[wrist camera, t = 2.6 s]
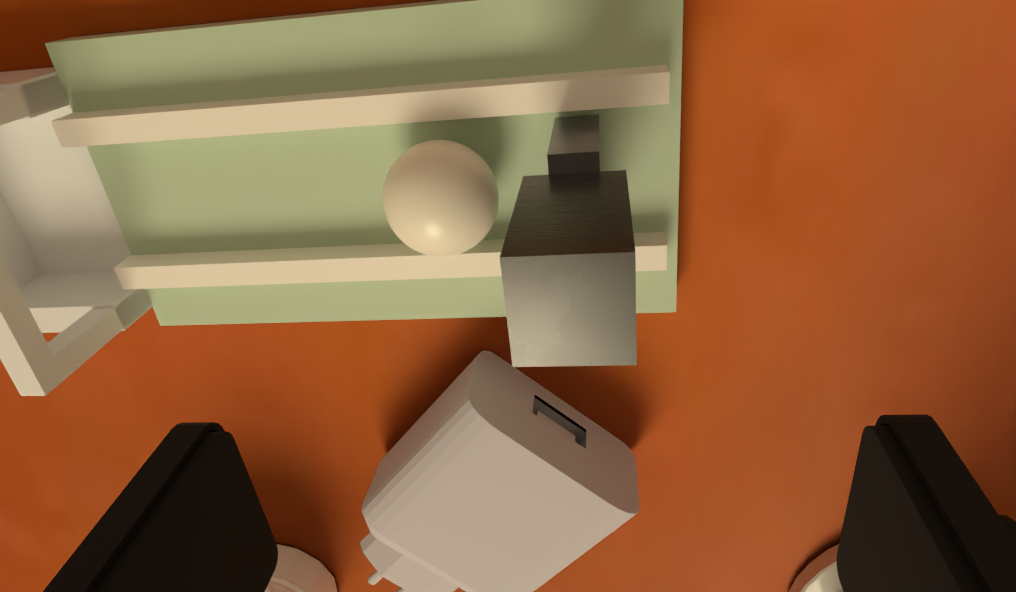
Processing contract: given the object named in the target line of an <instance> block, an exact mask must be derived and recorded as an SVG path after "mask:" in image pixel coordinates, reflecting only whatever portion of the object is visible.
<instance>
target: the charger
mask: <svg viewBox="0 0 1016 592" xmlns="http://www.w3.org/2000/svg"><path fill="white" fill-rule="evenodd" d="M535 395H537V396H538V397H539V398H541V399H542V400H544V401H545V402H547V403H548V404H550V405H551V406H553V407H554V408H555V409H557V410H558V411H560V412H561V413H563V414H564V415H566V416H567V417H569V418H570V419H572V420H573V421H574V422H576V423H577V424H579V425H580V426H582V427H583V428H585V429H586V432H584V431H583V430H581V429H580V428H578V427H577V426H576V425H574V424H573V423H571V422H570V421H568V420H567V419H565V418H564V417H562V416H561V415H559V414H558V413H556V412H555V411H554V410H552V409H551V408H549V407H548V406H546V405H545V404H543V403H542V402H540V401H539V400H537V399H536V398H535V397H534V396H535ZM638 511H639V496H638V482H637V467H636V459H635V456H634V454H633V453H632V451H631V450H630V448H629V447H628V446H627V445H626V444H625V443H623V442H622V441H621V440H619V439H618V438H616V437H615V436H613V435H612V434H611V433H609V432H608V431H606V430H605V429H603V428H602V427H600V426H599V425H598V424H596V423H595V422H593V421H592V420H590V419H589V418H587V417H586V416H584V415H583V414H582V413H580V412H579V411H577V410H576V409H574V408H573V407H571V406H570V405H569V404H567V403H566V402H564V401H563V400H561V399H560V398H558V397H557V396H555V395H554V394H553V393H551V392H550V391H548V390H547V389H545V388H544V387H542V386H541V385H539V384H538V383H537V382H535V381H534V380H532V379H531V378H529V377H528V376H526V375H525V374H523V373H522V372H521V371H519V370H518V369H516V368H515V367H512V365H510V364H509V363H507V362H506V361H504V360H503V359H501V358H500V357H499V356H497V355H496V354H494V353H493V352H490V351H481V352H480V353H479V354H478V355H477V356H476V358H475V359H474V360H473V361H472V362H471V363H470V364H469V365H468V366H467V367H466V368H465V369H464V371H463V372H462V373H461V374H460V375H459V376H458V377H457V378H456V379H455V380H454V381H453V382H452V384H451V385H450V386H449V387H448V388H447V389H446V390H445V391H444V392H443V393H442V394H441V395H440V397H439V398H438V399H437V400H436V401H435V402H434V403H433V404H432V405H431V406H430V407H429V408H428V410H427V411H426V412H425V413H424V414H423V415H422V416H421V417H420V418H419V419H418V420H417V421H416V423H415V424H414V425H413V426H412V427H411V428H410V429H409V430H408V431H407V432H406V433H405V434H404V436H403V437H402V438H401V439H400V440H399V441H398V442H397V443H396V444H395V445H394V446H393V447H392V449H391V450H390V451H389V452H388V453H387V454H386V455H385V456H384V457H383V458H382V459H381V460H380V463H379V465H378V467H377V470H376V472H375V475H374V477H373V480H372V482H371V485H370V487H369V490H368V492H367V495H366V497H365V500H364V502H363V504H362V513H363V516H364V518H365V521H366V523H367V525H368V528H369V530H370V533H369V534H368V535H367V536H366V537H365V538H364V539H363V540H362V541H361V542H360V545H361V548H362V551H363V553H364V554H365V556H366V557H367V558H368V560H369V561H370V562H371V563H372V565H373V566H374V567H375V569H376V571H375V572H374V573H373V574H372V575H371V576H370V577H369V578H368V582H369V583H370V584H372V585H375V584H376V583H377V582H378V581H379V580H380V579H382V578H383V577H384V578H386V579H388V580H389V581H391V582H393V583H394V584H396V585H398V586H400V587H401V588H400V589H398V590H397V591H396V592H453V591H455V590H456V589H457V588H458V587H459V588H461V589H462V590H464V591H466V592H533V591H535V590H536V589H537V588H539V587H540V586H541V585H543V584H544V583H545V582H547V581H548V580H549V579H551V578H552V577H553V576H555V575H556V574H557V573H559V572H560V571H561V570H563V569H564V568H565V567H566V566H568V565H569V564H570V563H572V562H573V561H574V560H576V559H577V558H578V557H580V556H581V555H582V554H584V553H585V552H586V551H588V550H589V549H590V548H592V547H593V546H594V545H596V544H597V543H598V542H600V541H601V540H602V539H604V538H605V537H606V536H608V535H609V534H610V533H612V532H613V531H614V530H616V529H617V528H618V527H620V526H621V525H622V524H623V523H625V522H626V521H627V520H629V519H630V518H631V517H633V516H634V515H635V514H637V513H638Z"/></svg>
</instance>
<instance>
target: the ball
mask: <svg viewBox="0 0 1016 592" xmlns="http://www.w3.org/2000/svg"><path fill="white" fill-rule="evenodd" d="M498 204H499V193H498V187H497V183H496V180H495V177H494V175H493V173H492V170H491V169H490V167H489V166H488V164H487V163H486V162H485V161H484V159H483V158H482V157H481V156H480V155H478V154H477V153H476V152H475V151H473V150H472V149H470V148H469V147H467V146H465V145H463V144H460V143H457V142H453V141H449V140H431V141H426V142H422V143H419V144H417V145H415V146H413V147H411V148H409V149H408V150H406V151H405V152H404V153H403V154H402V155H400V156H399V157H398V158H397V160H396V161H395V162H394V163H393V165H392V166H391V168H390V170H389V172H388V174H387V176H386V179H385V182H384V187H383V207H384V212H385V216H386V219H387V221H388V223H389V225H390V227H391V229H392V230H393V232H394V233H395V234H396V236H397V237H398V238H399V239H400V240H401V241H402V242H403V243H405V244H406V245H407V246H409V247H410V248H412V249H414V250H415V251H417V252H420V253H423V254H426V255H430V256H439V257H446V256H453V255H457V254H460V253H463V252H465V251H467V250H469V249H471V248H473V247H474V246H475V245H477V244H478V243H479V242H480V241H481V240H482V239H483V238H484V237H485V236H486V235H487V233H488V232H489V231H490V229H491V227H492V225H493V223H494V221H495V218H496V215H497V211H498Z"/></svg>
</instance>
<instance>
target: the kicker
mask: <svg viewBox="0 0 1016 592" xmlns="http://www.w3.org/2000/svg"><path fill="white" fill-rule="evenodd" d="M547 160H548V174H549V175H532V176H523V179H522V182H521V186H520V189H519V192H518V196H517V199H516V203H515V206H514V210H513V213H512V217H511V220H510V223H509V227H508V230H507V234H506V237H505V241H504V244H503V247H502V251H501V254H500V265H501V273H502V282H503V290H504V299H505V307H506V316H507V324H508V333H509V341H510V350H511V358H512V367H550V366H617V365H636V261H635V244H634V235H633V226H632V217H631V208H630V200H629V191H628V182H627V173H626V170H618V171H601V156H600V127H599V114H598V115H584V116H570V117H556V118H555V120H554V125H553V130H552V134H551V139H550V144H549V148H548V153H547Z"/></svg>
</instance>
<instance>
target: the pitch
mask: <svg viewBox="0 0 1016 592" xmlns="http://www.w3.org/2000/svg"><path fill="white" fill-rule="evenodd" d="M682 40H683V0H437V1H427V2H417V3H407V4H398V5H388V6H378V7H368V8H358V9H348V10H338V11H328V12H318V13H308V14H298V15H288V16H278V17H268V18H258V19H248V20H238V21H228V22H218V23H208V24H198V25H188V26H178V27H168V28H158V29H148V30H138V31H128V32H118V33H108V34H98V35H88V36H78V37H71V38H66V39H62V40H57V41H53V42H48V43H44V44H45V46H46V48H47V51H48V53H49V56H50V58H51V61H52V63H53V66H54V68H55V70H56V73H57V75H58V78H59V80H60V83H61V85H62V87H63V90H64V92H65V95H66V97H67V100H68V102H69V104H70V107H71V109H72V112H73V113H71V114H68V115H65V116H63V117H60V118H57V119H55V120H52V121H51V123H52V126H53V128H54V130H55V133H56V135H57V137H58V140H59V142H60V144H61V147H62V148H67V147H81V146H87V148H88V151H89V153H90V156H91V158H92V160H93V163H94V165H95V168H96V170H97V173H98V175H99V178H100V180H101V182H102V185H103V187H104V190H105V192H106V195H107V197H108V199H109V202H110V204H111V207H112V209H113V212H114V214H115V216H116V219H117V221H118V224H119V226H120V229H121V231H122V233H123V236H124V238H125V241H126V243H127V246H128V248H129V251H130V253H131V256H130V257H128V258H127V259H126V260H124V261H123V262H121V263H120V264H119V265H117V266H116V267H114V270H115V273H116V275H117V277H118V280H119V282H120V284H121V286H122V289H123V290H127V289H146V292H147V294H148V297H149V299H150V302H151V304H152V307H153V309H154V311H155V314H156V316H157V319H158V321H159V324H160V326H170V325H208V324H246V323H283V322H321V321H359V320H397V319H435V318H473V317H507V316H506V307H505V299H504V290H503V282H502V273H501V265H500V254H501V251H502V247H503V244H504V241H505V237H506V234H507V230H508V227H509V223H510V220H511V217H512V213H513V210H514V206H515V203H516V199H517V196H518V192H519V189H520V186H521V182H522V179H523V176H532V175H549V174H548V160H547V153H548V148H549V144H550V139H551V134H552V130H553V125H554V120H555V118H556V117H570V116H584V115H598V114H599V127H600V156H601V171H618V170H626V173H627V182H628V191H629V200H630V208H631V217H632V226H633V235H634V244H635V261H636V313H663V312H676V291H677V249H678V207H679V165H680V124H681V82H682ZM431 140H449V141H453V142H457V143H460V144H463V145H465V146H467V147H469V148H470V149H472V150H473V151H475V152H476V153H477V154H478V155H480V156H481V157H482V158H483V159H484V161H485V162H486V163H487V164H488V166H489V167H490V169H491V170H492V173H493V175H494V177H495V180H496V183H497V187H498V193H499V204H498V211H497V215H496V218H495V221H494V223H493V225H492V227H491V229H490V231H489V232H488V233H487V235H486V236H485V237H484V238H483V239H482V240H481V241H480V242H479V243H478V244H477V245H475V246H474V247H473V248H471V249H469V250H467V251H465V252H463V253H460V254H457V255H453V256H446V257H439V256H430V255H426V254H423V253H420V252H417V251H415V250H414V249H412V248H410V247H409V246H407V245H406V244H405V243H403V242H402V241H401V240H400V239H399V238H398V237H397V236H396V234H395V233H394V232H393V230H392V229H391V227H390V225H389V223H388V221H387V219H386V216H385V212H384V207H383V187H384V182H385V179H386V176H387V174H388V172H389V170H390V168H391V166H392V165H393V163H394V162H395V161H396V160H397V158H398V157H399V156H400V155H402V154H403V153H404V152H405V151H406V150H408V149H409V148H411V147H413V146H415V145H417V144H419V143H422V142H426V141H431Z"/></svg>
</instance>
